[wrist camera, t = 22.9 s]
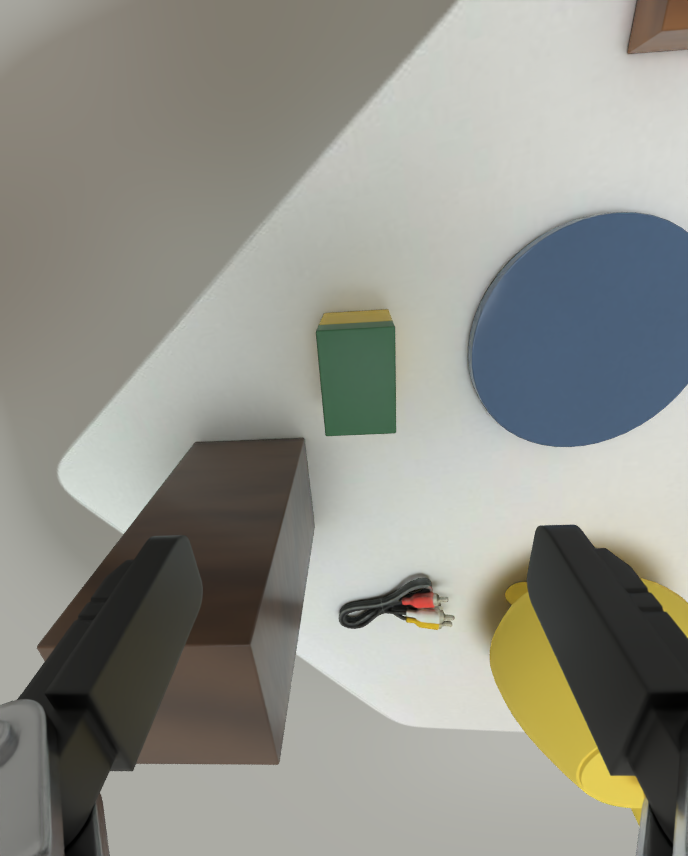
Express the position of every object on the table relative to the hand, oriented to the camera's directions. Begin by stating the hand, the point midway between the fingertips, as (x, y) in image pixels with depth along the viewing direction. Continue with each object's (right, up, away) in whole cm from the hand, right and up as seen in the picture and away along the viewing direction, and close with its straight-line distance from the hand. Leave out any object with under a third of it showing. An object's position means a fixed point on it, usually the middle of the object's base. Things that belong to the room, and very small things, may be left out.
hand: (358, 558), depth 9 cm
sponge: (+1, +8, +17) cm, 18 cm away
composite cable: (+4, -12, +26) cm, 29 cm away
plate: (+14, +8, +16) cm, 23 cm away
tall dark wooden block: (-7, -1, +21) cm, 22 cm away
